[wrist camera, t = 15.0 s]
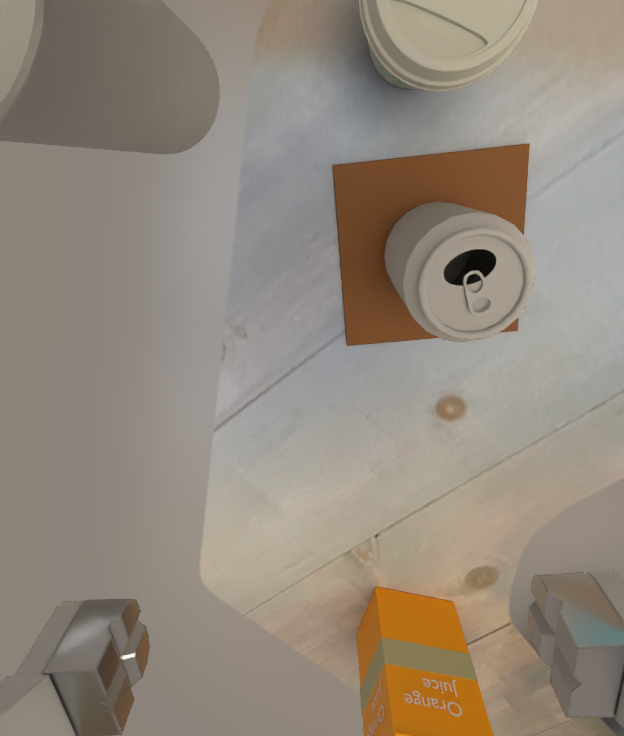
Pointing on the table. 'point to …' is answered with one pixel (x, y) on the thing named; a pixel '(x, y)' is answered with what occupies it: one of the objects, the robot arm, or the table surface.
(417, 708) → the orange juice
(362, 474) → the table surface
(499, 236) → the can
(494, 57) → the coffee cup
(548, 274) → the table surface
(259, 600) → the table surface
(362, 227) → the mat
